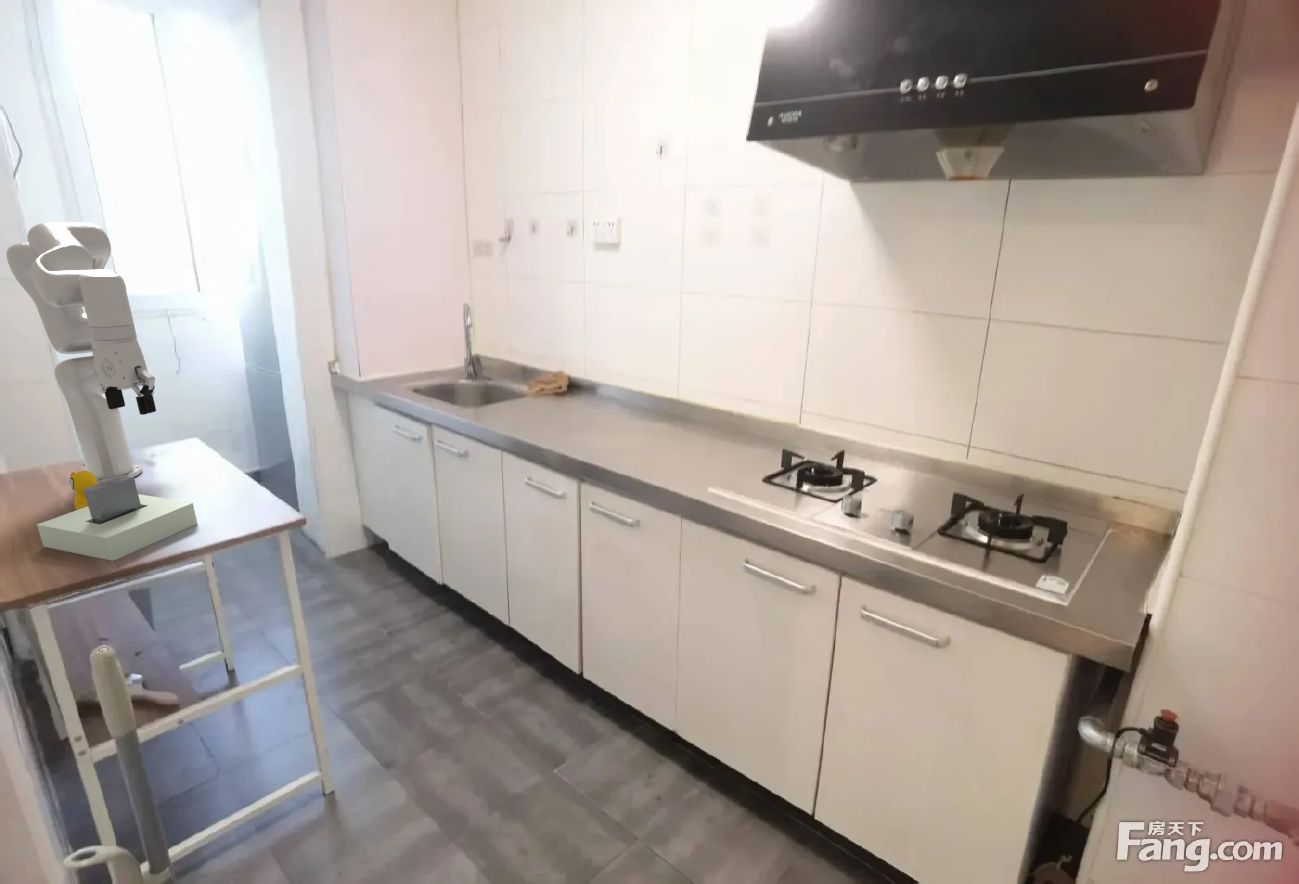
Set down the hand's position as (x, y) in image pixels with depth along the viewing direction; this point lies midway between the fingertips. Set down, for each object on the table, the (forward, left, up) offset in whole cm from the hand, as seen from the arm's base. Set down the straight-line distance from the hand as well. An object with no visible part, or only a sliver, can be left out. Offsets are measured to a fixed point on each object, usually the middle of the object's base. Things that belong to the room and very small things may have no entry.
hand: (132, 410), depth 146 cm
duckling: (-12, -6, -24) cm, 28 cm away
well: (+6, -12, -24) cm, 27 cm away
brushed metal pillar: (+6, -12, -24) cm, 27 cm away
